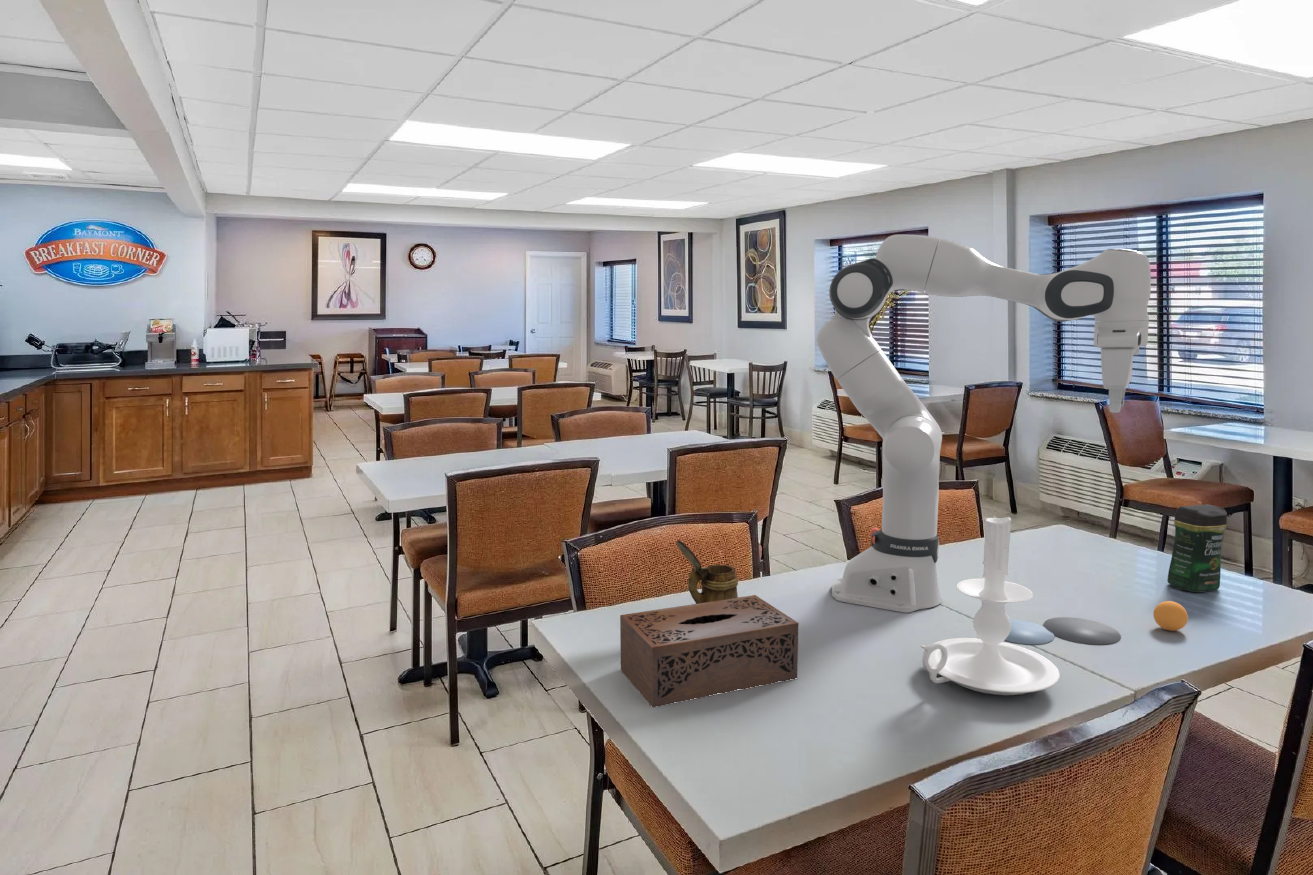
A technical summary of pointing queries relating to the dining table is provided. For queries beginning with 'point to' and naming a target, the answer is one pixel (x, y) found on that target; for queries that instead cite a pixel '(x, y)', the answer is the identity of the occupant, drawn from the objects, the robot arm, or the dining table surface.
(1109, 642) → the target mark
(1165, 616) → the ball
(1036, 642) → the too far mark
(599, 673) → the dining table surface
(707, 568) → the wooden mug
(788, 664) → the tissue box cover
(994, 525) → the candlestick
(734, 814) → the dining table surface
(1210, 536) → the coffee jar
